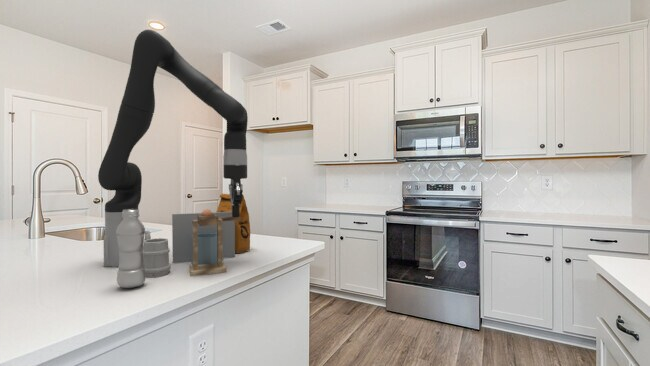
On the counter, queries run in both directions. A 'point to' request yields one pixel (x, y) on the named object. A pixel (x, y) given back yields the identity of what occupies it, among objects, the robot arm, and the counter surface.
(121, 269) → the plastic bottle
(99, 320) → the counter surface
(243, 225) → the coffee package
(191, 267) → the stand
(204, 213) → the ball
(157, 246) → the mug
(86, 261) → the counter surface
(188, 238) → the backboard
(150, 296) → the counter surface
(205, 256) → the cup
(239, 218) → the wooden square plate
